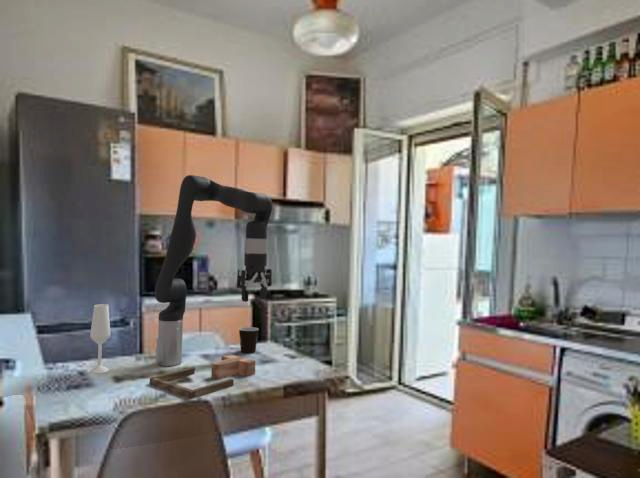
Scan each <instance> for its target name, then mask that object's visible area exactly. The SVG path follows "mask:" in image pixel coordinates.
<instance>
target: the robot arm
mask: <svg viewBox="0 0 640 478" xmlns="http://www.w3.org/2000/svg"><path fill="white" fill-rule="evenodd" d="M177 200H178V201H177V206H176V207H177V208H176V212H175V217H174V222H173V226H172V230H171V232H170V237H169V241H168V245H167V249H166V252H165V257H164V260H163V264H162V267H161V270H160V273H159V275H158V277H157V281H156V282H155V283H156V284H155V286H154V296H155V300H156V301H157V302H158V303H161V304H167V303H169V304H168V306H166V308H165V309H163V310H161V311H160V312H159V313H158V325H157V329H158V331H157V338H156V347H155V348H156V349H155V350H156V352H155V363H156V364H157V365H159V366H163V367H171V366H177V365H180V364H182V363H183V362H182V360H183V359H182V358H183V357H182V356H183V331H184V329H183V328H184V315H185V312H186V303H187V285H186V284H187V283H185V281H184V279H181V278H175V276H176V273H178V270H179V268H181V266H182V265H183V264H184V262H186V260H188V258H189V257H190V255H191V254H192V252H193V249H194V246H195V243H196V238H197V231H196V226H195V223H194V221H193V217H192V211H193V206H194V202H195V201H197V202H211V201H212V202H219V203H221V204H222V205H224V206H226V207H229V208H233V209H236V210H240V211H241V212H245V213H247V214H252V215H253V214H255V216H254V217H253V220H249V221H247V222H246V225H245V241H244V254H243V255H244V257H243V258H244V259H243V261H244V262H243V265H244V267H245V268H244V269H245V270H244V269H238V270H237V278H236V279H237V280H236V288H237V289H240V290H241V301H242V302H245V303H246V302H249V294H250V293H249V291H250V290H249V289H250V287H251V286H252V285H253V283H257V284H259V286H260V292H259V293H260V294H259V298H260V300H266V299H267V295H268V288H269V287H271V286H272V284H273V283H272V279H273V278H272V277H273V276H272V275H273V274H272V269H271V268H265V267H267V264H268V263H267V261H268V259H267V258H268V241H267V238H268V226H269V222H270V219H271V215H272V212H273V211H272V210H273V201H272V199H271V197H270V195H268V194H266V193H260V192H254V191H247V190H245V189H242V188H237V187H234V186H229V185H223V184H220V183H217V182H215V181H213V180H212V179H210V178H208V177H205V176H199V175H193V174H188V175H186V176H184V178H183V180H182V181H181V183H180V187H179V194H178V199H177Z"/></svg>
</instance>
